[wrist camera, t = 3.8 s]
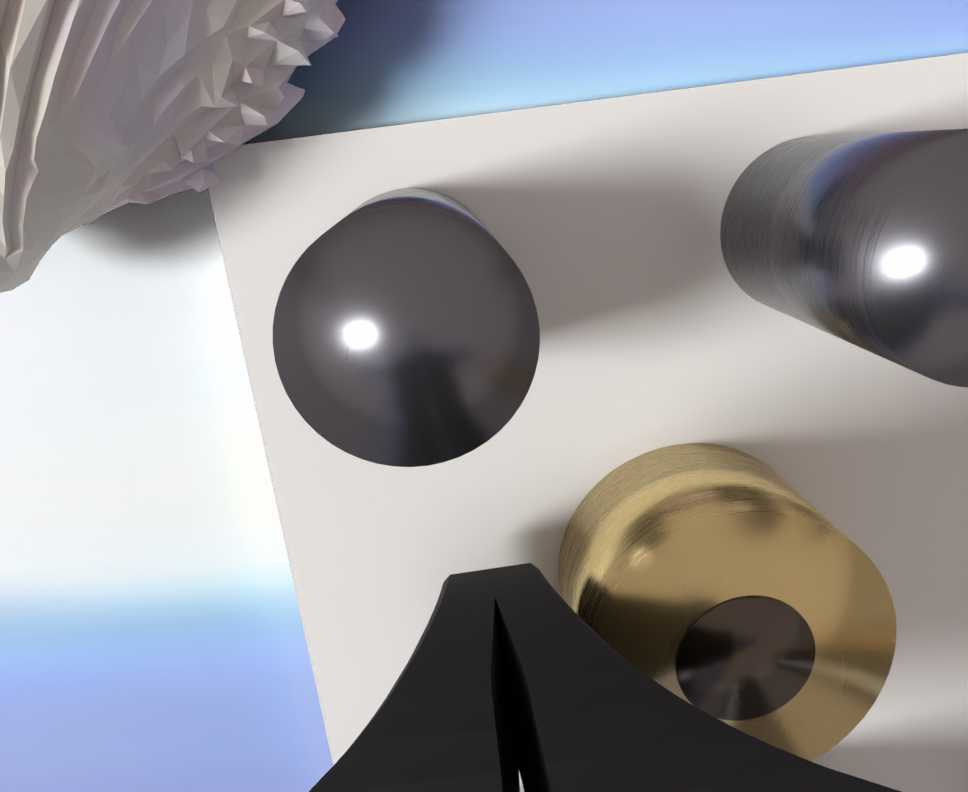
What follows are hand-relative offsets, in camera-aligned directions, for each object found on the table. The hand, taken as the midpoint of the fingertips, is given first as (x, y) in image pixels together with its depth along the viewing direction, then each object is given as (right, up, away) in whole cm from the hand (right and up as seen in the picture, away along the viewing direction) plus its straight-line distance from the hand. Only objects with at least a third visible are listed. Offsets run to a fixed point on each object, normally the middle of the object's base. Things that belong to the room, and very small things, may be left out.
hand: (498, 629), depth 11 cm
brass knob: (+3, +1, +1) cm, 3 cm away
